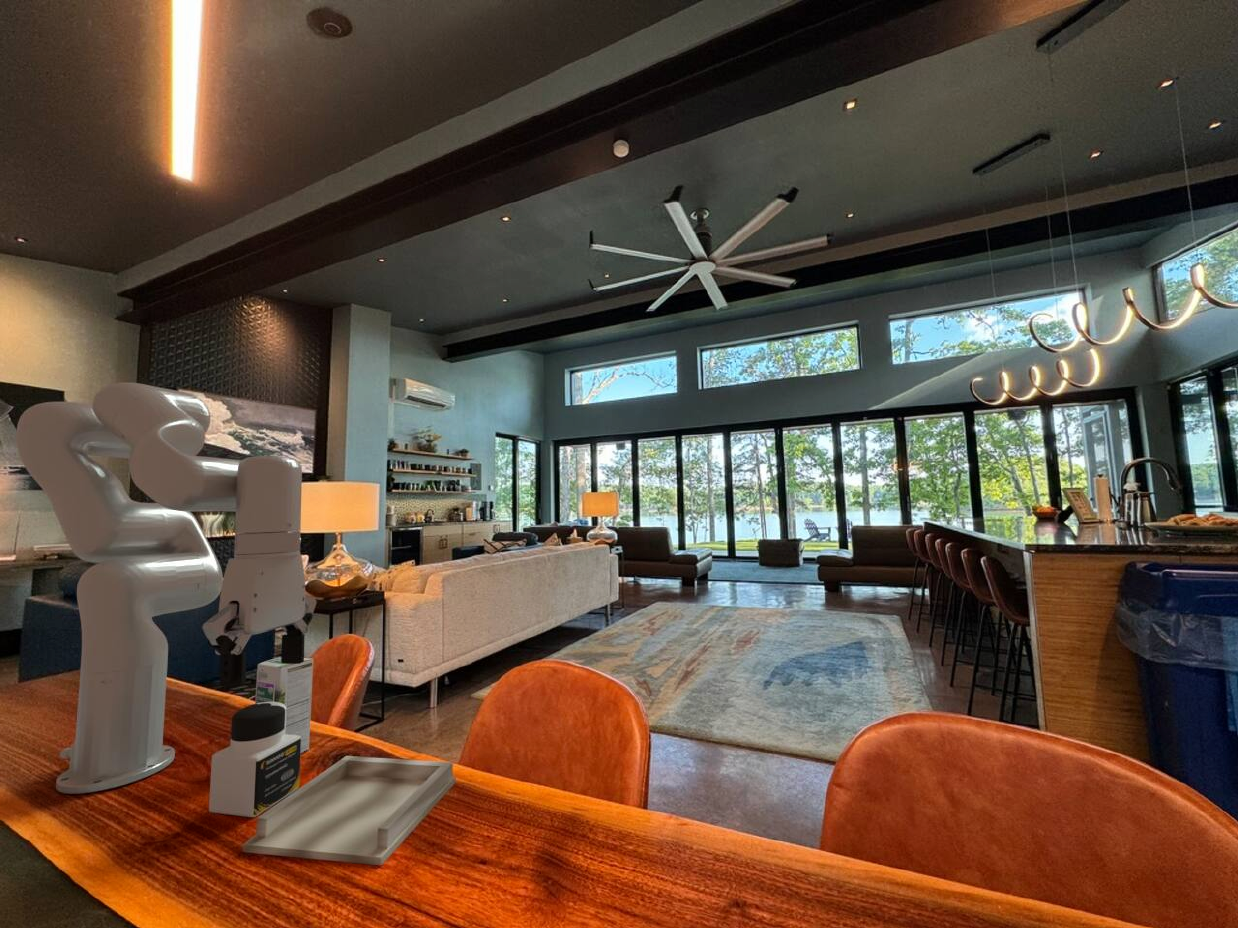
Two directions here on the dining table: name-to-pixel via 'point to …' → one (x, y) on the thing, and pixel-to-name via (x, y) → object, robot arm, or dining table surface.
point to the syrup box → (288, 693)
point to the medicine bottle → (255, 762)
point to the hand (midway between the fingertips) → (264, 673)
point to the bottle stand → (353, 810)
